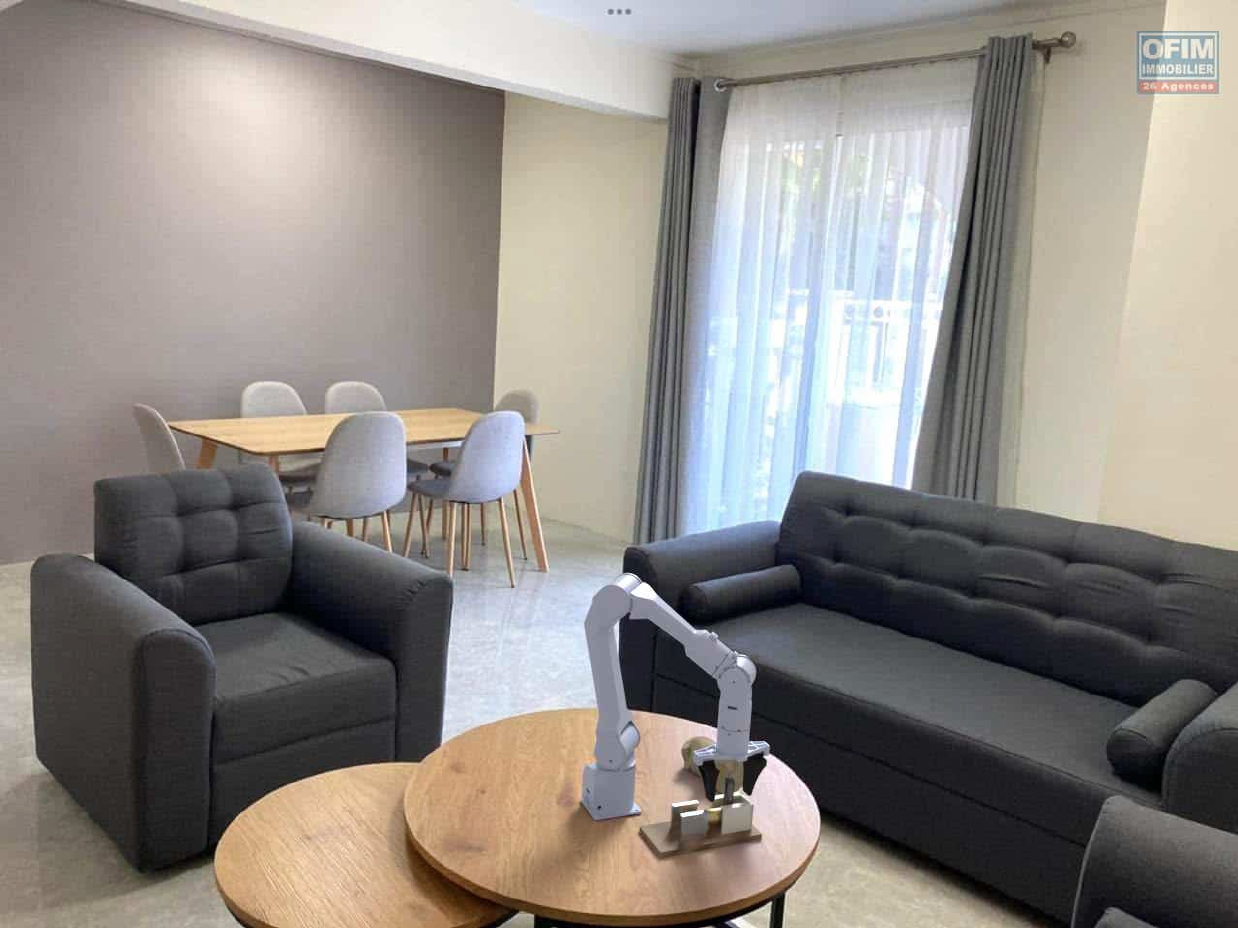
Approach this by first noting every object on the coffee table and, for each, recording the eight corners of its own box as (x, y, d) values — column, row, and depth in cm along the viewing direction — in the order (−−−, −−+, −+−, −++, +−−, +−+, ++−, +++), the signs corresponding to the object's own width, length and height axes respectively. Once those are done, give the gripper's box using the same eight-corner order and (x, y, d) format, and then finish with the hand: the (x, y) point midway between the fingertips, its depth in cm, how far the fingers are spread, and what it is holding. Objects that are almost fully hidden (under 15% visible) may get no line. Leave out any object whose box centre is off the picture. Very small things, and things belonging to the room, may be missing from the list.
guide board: (660, 857, 170) (662, 827, 169) (639, 831, 178) (641, 802, 178) (761, 838, 178) (764, 809, 177) (737, 814, 186) (739, 786, 185)
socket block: (722, 834, 177) (724, 809, 176) (709, 820, 181) (710, 795, 181) (751, 829, 179) (753, 804, 178) (738, 815, 184) (739, 791, 183)
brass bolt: (690, 832, 175) (693, 786, 174) (683, 823, 178) (686, 778, 177) (745, 822, 180) (748, 777, 178) (737, 814, 182) (740, 770, 181)
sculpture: (700, 790, 188) (735, 750, 189) (666, 749, 204) (699, 712, 205) (728, 815, 191) (763, 775, 192) (693, 772, 207) (725, 736, 208)
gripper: (708, 739, 170) (702, 812, 173) (780, 729, 176) (774, 800, 178) (689, 722, 177) (684, 793, 179) (760, 713, 182) (755, 782, 185)
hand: (728, 796), depth 179 cm, fingers open, 7 cm apart
